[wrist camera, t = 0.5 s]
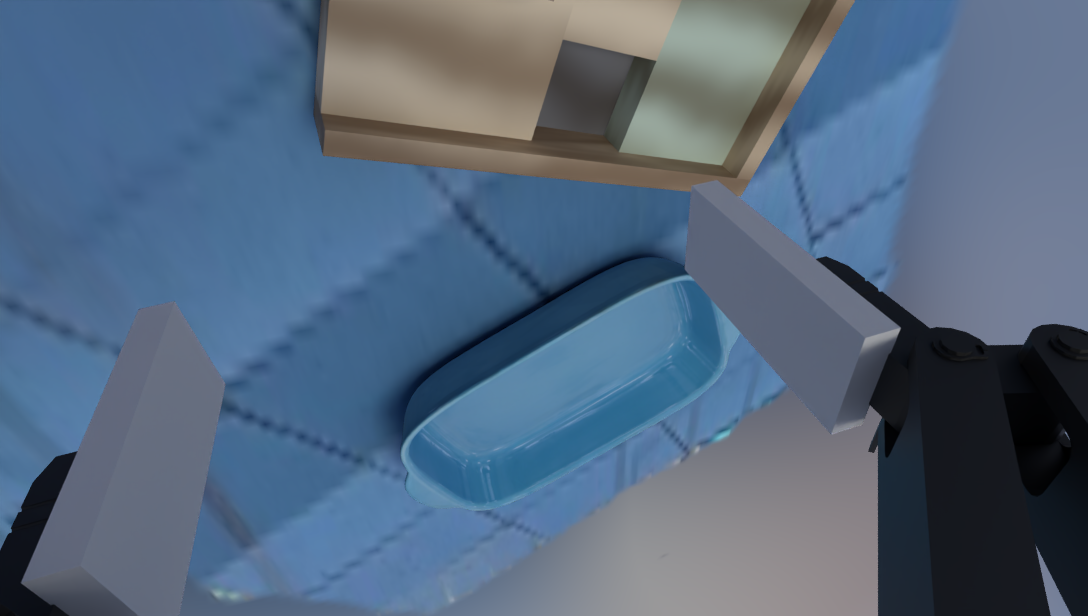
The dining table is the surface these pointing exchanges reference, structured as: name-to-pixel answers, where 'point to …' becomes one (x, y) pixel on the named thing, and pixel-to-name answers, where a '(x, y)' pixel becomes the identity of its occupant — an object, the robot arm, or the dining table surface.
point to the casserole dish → (563, 386)
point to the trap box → (568, 84)
